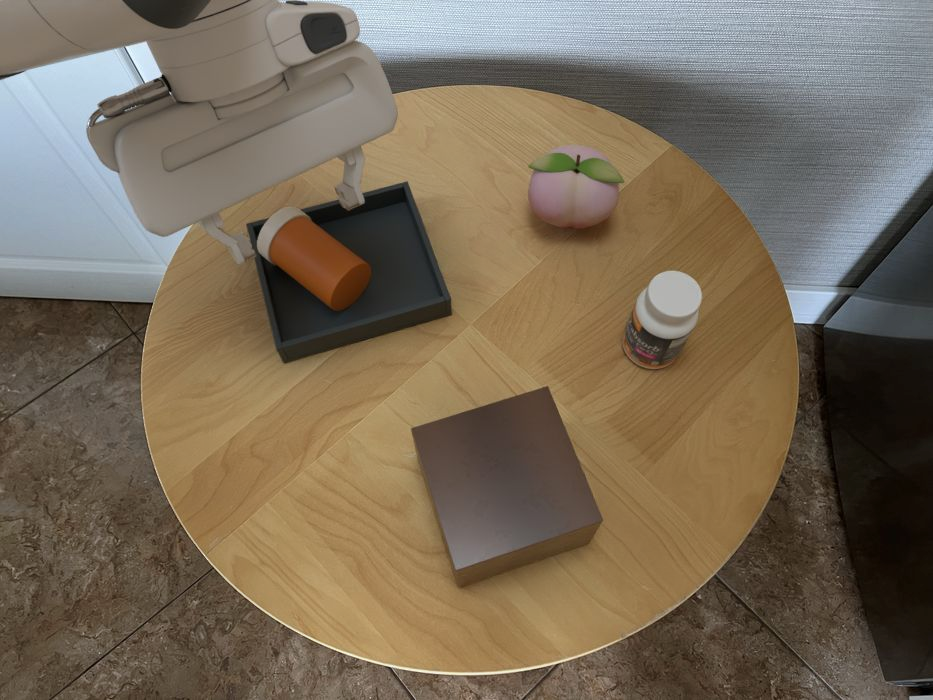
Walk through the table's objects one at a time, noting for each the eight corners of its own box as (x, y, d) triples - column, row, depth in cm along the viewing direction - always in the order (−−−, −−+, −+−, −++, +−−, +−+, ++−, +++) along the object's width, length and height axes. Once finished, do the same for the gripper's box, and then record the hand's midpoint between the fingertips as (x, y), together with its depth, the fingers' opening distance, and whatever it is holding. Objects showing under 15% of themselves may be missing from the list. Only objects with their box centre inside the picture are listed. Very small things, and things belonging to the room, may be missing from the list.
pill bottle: (609, 343, 74) (627, 290, 65) (648, 309, 76) (671, 253, 67) (652, 382, 72) (677, 334, 63) (692, 346, 74) (721, 294, 65)
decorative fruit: (610, 188, 83) (626, 122, 74) (612, 250, 79) (629, 189, 70) (524, 184, 83) (530, 118, 74) (522, 245, 79) (528, 184, 70)
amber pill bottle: (322, 320, 72) (251, 262, 75) (361, 303, 77) (293, 249, 80) (339, 269, 69) (264, 211, 72) (380, 255, 74) (308, 201, 77)
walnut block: (457, 588, 64) (455, 570, 57) (417, 459, 69) (410, 428, 62) (589, 543, 65) (603, 520, 58) (540, 420, 70) (547, 385, 63)
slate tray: (283, 363, 73) (276, 349, 71) (253, 240, 80) (245, 223, 77) (452, 314, 76) (451, 299, 73) (409, 199, 82) (407, 180, 79)
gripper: (79, 121, 44) (186, 309, 53) (375, 2, 51) (429, 187, 59) (65, 103, 49) (164, 279, 57) (337, -3, 56) (392, 168, 64)
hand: (301, 231), depth 58 cm, fingers open, 8 cm apart
